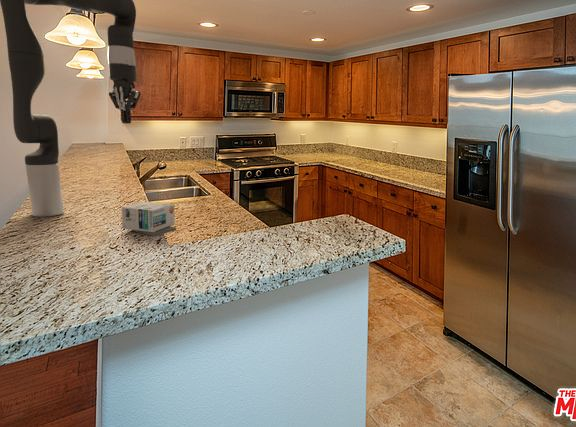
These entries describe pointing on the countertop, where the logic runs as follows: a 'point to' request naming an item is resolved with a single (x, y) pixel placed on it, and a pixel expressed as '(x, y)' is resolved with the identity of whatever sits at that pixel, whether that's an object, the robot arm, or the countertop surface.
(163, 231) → the plate
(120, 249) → the countertop surface
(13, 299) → the countertop surface
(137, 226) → the light bulb box
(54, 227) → the countertop surface
